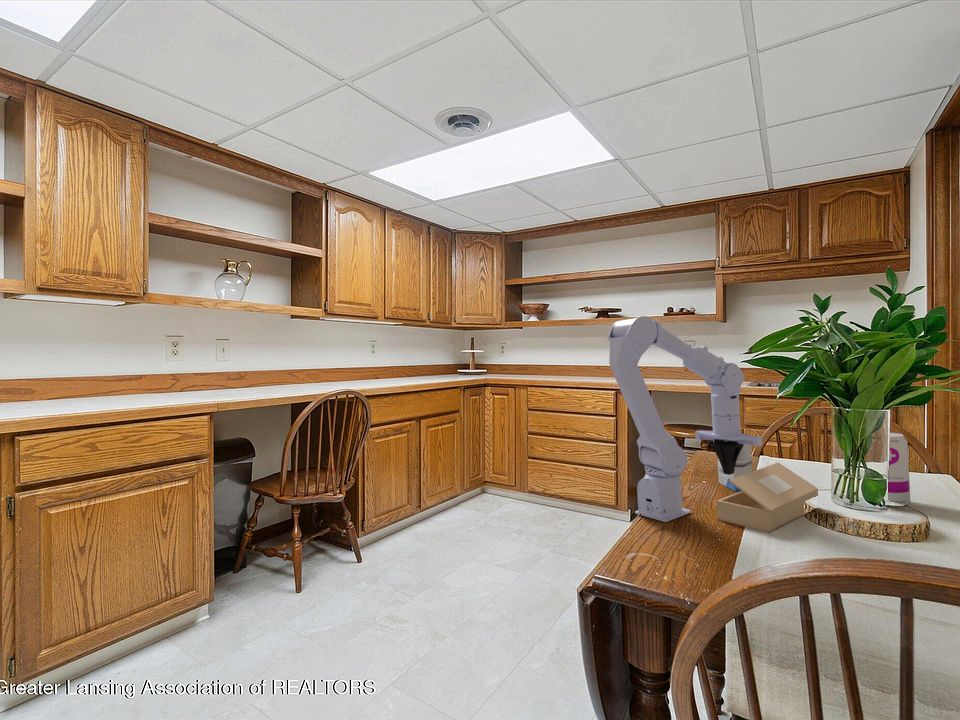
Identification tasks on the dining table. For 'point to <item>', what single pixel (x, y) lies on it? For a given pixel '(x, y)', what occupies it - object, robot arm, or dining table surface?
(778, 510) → the carton
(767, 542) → the dining table surface
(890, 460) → the white can
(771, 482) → the flap
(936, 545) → the dining table surface
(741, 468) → the ink box
